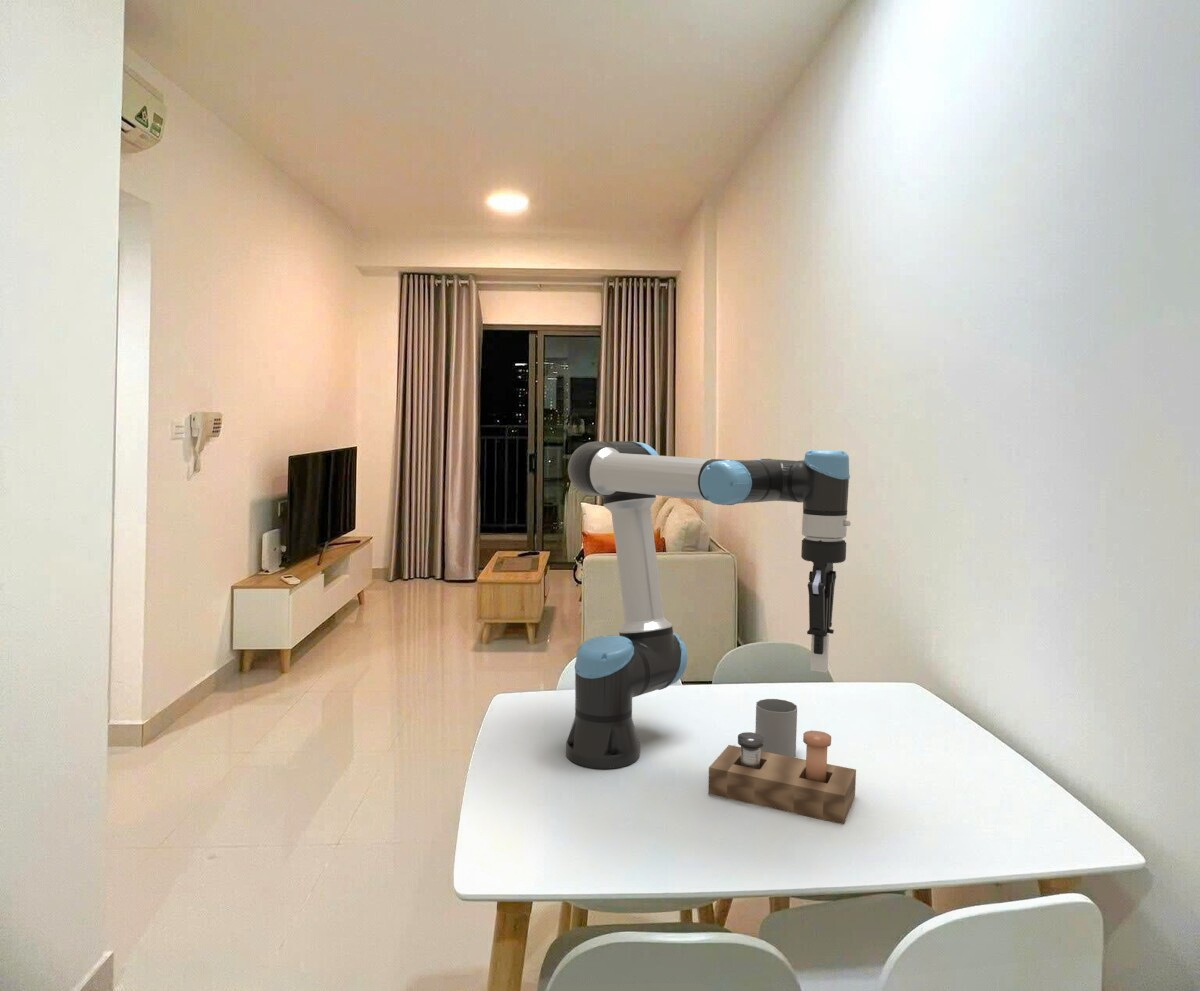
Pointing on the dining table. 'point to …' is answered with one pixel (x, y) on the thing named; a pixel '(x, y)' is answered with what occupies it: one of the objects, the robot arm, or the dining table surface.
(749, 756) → the plug grey
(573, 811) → the dining table surface
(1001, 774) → the dining table surface
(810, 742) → the plug terracotta
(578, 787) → the dining table surface
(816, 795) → the socket block
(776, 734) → the cup
